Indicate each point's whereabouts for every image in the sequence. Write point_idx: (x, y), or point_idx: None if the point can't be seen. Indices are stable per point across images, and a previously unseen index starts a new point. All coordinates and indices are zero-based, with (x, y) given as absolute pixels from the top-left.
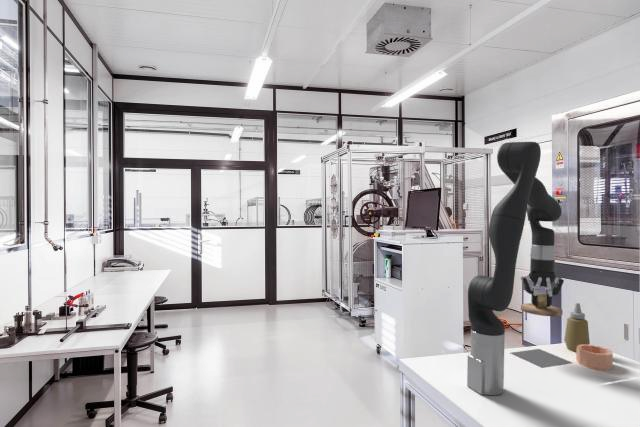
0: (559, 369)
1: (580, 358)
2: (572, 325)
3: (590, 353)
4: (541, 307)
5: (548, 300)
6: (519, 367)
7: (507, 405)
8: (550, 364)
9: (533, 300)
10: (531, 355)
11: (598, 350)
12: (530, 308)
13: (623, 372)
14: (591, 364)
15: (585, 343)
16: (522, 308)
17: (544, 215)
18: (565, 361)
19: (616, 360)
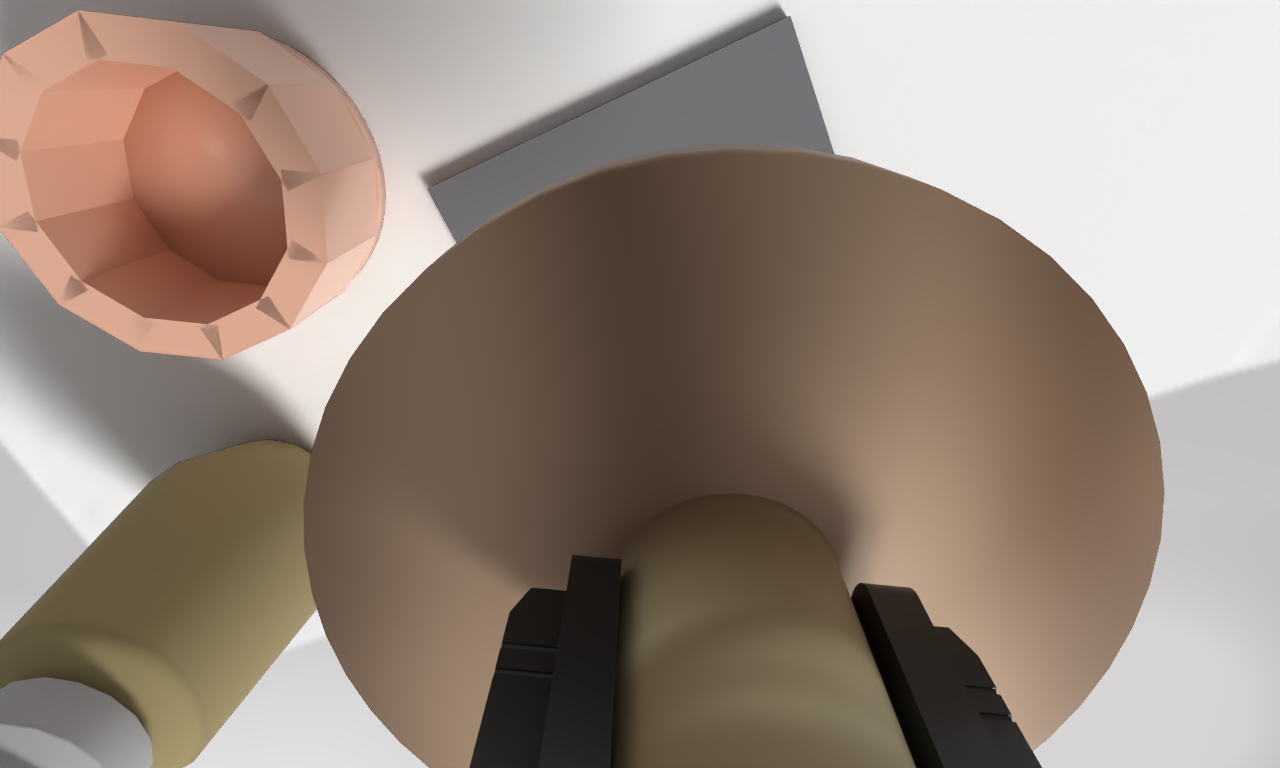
0: (615, 33)
1: (354, 154)
2: (202, 620)
3: (242, 63)
4: (780, 522)
5: (596, 671)
6: (985, 40)
7: None
8: (662, 115)
9: (987, 713)
10: None
11: (115, 277)
12: (1020, 513)
13: (36, 26)
14: (289, 60)
15: (182, 470)
16: (1133, 565)
17: None
18: (485, 212)
19: (17, 322)
